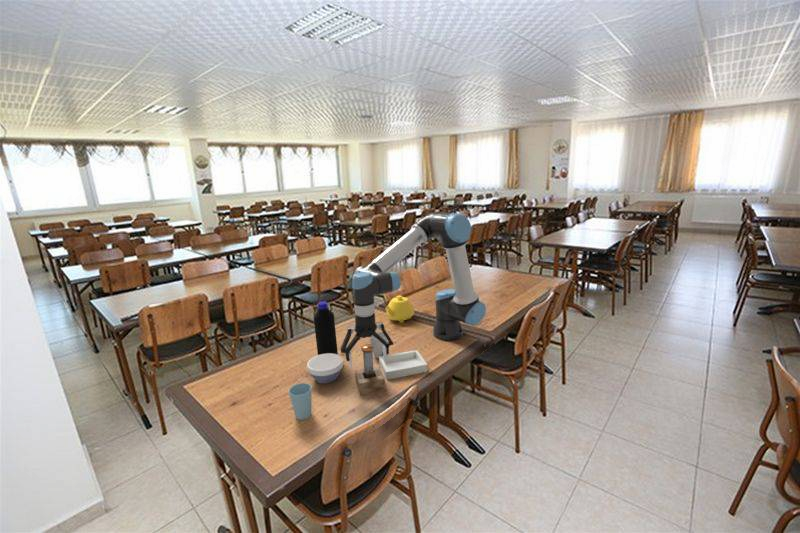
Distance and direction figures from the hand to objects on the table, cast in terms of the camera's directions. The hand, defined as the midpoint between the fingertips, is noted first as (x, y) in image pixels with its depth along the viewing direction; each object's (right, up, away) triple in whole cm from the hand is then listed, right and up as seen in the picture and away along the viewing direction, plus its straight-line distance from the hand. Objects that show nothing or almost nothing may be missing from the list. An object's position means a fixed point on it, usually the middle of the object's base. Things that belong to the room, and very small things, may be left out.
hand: (368, 364), depth 145 cm
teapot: (+11, +8, +66) cm, 67 cm away
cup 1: (-22, -14, -13) cm, 29 cm away
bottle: (-20, -5, +23) cm, 31 cm away
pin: (+1, -9, +2) cm, 9 cm away
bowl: (-18, -8, +10) cm, 22 cm away
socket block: (+1, -9, +2) cm, 9 cm away
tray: (+14, -5, +15) cm, 21 cm away
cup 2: (+3, -3, +26) cm, 27 cm away
